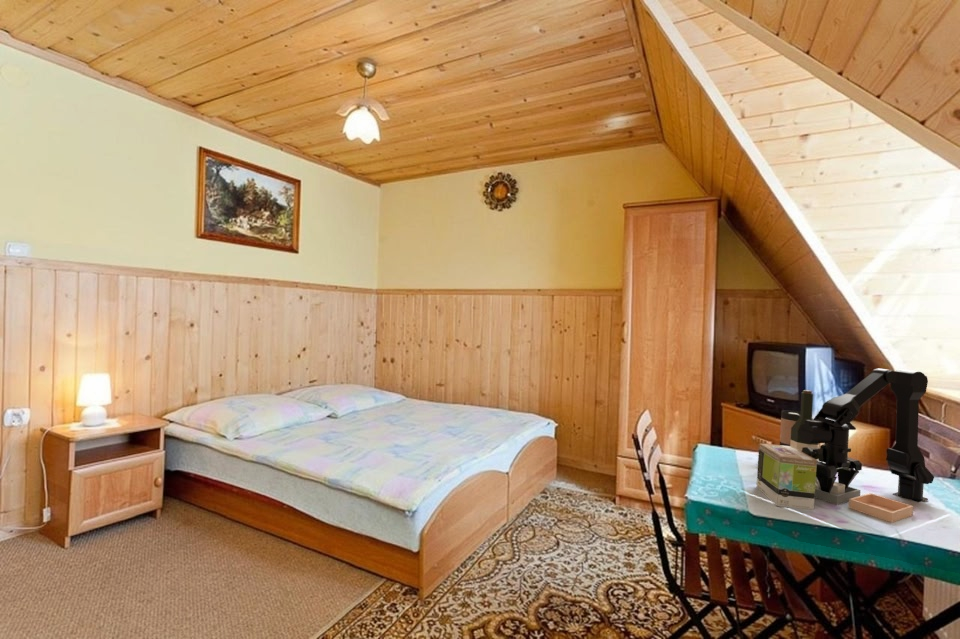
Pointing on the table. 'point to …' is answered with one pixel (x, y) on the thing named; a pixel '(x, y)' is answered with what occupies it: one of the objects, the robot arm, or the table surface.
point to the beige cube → (838, 488)
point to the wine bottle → (803, 422)
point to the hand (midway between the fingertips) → (833, 494)
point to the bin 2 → (881, 507)
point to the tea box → (786, 476)
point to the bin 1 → (839, 498)
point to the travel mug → (787, 426)
